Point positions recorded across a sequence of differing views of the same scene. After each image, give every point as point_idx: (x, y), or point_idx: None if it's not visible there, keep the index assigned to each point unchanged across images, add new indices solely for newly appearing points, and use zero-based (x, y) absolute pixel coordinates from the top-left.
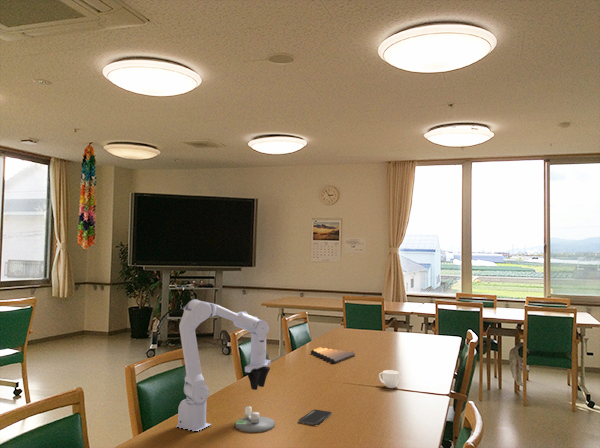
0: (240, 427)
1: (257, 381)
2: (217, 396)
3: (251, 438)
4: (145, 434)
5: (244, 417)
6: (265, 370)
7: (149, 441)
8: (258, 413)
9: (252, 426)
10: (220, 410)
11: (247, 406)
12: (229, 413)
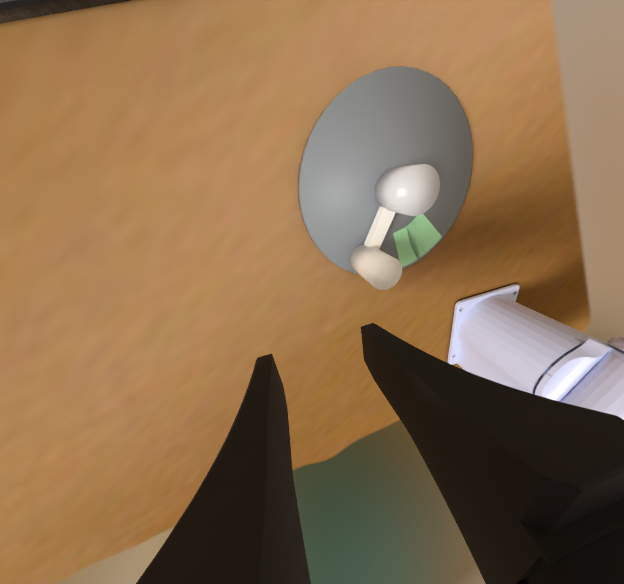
0: (464, 194)
1: (423, 362)
2: None
3: (514, 75)
4: None
5: None
6: (271, 580)
7: (583, 308)
8: (413, 172)
9: (434, 160)
10: (333, 391)
11: (381, 285)
12: (336, 356)
